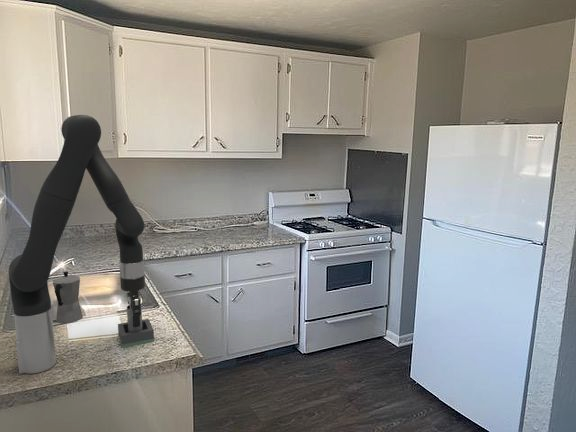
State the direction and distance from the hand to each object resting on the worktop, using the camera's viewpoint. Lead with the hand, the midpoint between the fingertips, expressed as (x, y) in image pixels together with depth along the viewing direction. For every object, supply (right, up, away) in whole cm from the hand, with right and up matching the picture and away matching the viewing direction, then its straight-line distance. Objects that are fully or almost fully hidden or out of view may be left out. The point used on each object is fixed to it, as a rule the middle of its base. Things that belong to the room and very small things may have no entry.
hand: (135, 322), depth 142 cm
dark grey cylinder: (0, -5, +1) cm, 5 cm away
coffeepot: (-30, -3, +15) cm, 33 cm away
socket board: (0, -6, +1) cm, 6 cm away
